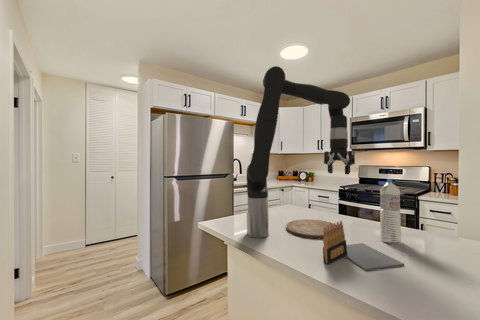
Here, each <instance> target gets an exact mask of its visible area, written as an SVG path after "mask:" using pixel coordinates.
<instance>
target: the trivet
mask: <svg viewBox="0 0 480 320" xmlns="http://www.w3.org/2000/svg"><path fill="white" fill-rule="evenodd" d="M334 223H335V222H334ZM334 223H333V222H330V221H327V220H320V219H319V220H318V219H297V220H292V221H291V220H290V221H289V222H287V223H285V226H286V227H285V229H286V231H287V232H288V234H289V233H290V234H291V235H294V236H297V237H300V238H301V237H302V238H304V239H312V240H314V239H315V240H323V239H324V227H326V229H327V226H328V225H329V227H330V226H331V224H332V225H333V226H334Z"/></svg>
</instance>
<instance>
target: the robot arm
mask: <svg viewBox="0 0 480 320" xmlns="http://www.w3.org/2000/svg"><path fill="white" fill-rule="evenodd" d="M262 85H263V88H264V89H263V90H264V91H263V97H262V100H261V103H260V107H259V110H258V112H257V117H256V121H255V126H254V134H253V135H254V136H253V150H252V151H253V153H252V157H251V160H250V163H249V165H248V166H247V168H246V192H247V213H246V231H247V232H246V233H247V235H248V236H249V237H250V238H256V239H257V238H258V239H260V238H266V237H268V236H269V235H270V234H269V231H270V230H269V192H268V183H267V178H268V176H269V170H270V167H269V166H270V157H271V150H272V147H273V143H274V138H275V135H276V134H275V133H276V131H277V130H276V129H277V123H278V119H279V118H278V117H279V109H280V99H281V95H286V96H291V97H295V98H296V97H297V98H299V99H302V100H306V101H308V102H311V103H313V104H317V105H327V107H328V108H327V109H328V114H329V119H330V131H329V132H330V133H329V149H330V151H324V155H323V164H324V165H327V172H328V174H333V170H334V168H333V167H334V166H333V165H334V163H335V162H337V161H341V162H342V163H343V164H344V174H345V175H350V173H351V166H353V165H355V163H356V162H355V160H356V159H355V151H354V150H348V145H349V143H348V141H349V139H348V138H349V135H348V134H349V133H348V132H349V131H348V118H347V116H346V115H344V109H346V108H347V107H349V105H350V104H351V99H350V96H349V95H348V94H347V93H345V92H342V91H338V90H333V89H331V90H330V89H326V88H324V87H321V86H318V85H314V84H310V83H300V82H293V81H290V80H288V79H286V73H285V71H284V69H283V68H282V67H280V66H277V65H275V66H274V65H273V66H272V67H270V68H269V69H268V70H266V72H265V74H264V77H263V80H262Z"/></svg>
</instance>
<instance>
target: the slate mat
mask: <svg viewBox="0 0 480 320" xmlns="http://www.w3.org/2000/svg"><path fill="white" fill-rule="evenodd" d="M346 246H347V255H346V256H344V257H343V258H345V259H346V260H348V261H349V262H351V263H352V264H354V265H356V266H357V267H359V268H360V269H362V270H363V271H365V272H369V271H377V270H383V269H390V268H397V267H404V266H405V263H403V262H401V261H399V260H397V259H396V258H394V257H391V256H390V255H387V254H385V253H384V252H382V251H379V250H377V249H375V248H373V247H371V246H369V245H367V244H365V243H364V242H361V243H360V242H359V243H351V244H346Z"/></svg>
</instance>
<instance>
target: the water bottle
mask: <svg viewBox="0 0 480 320" xmlns="http://www.w3.org/2000/svg"><path fill="white" fill-rule="evenodd" d="M379 193H380V194H379V195H380V198H379V199H380V200H379V201H380V203H379V204H380V205H379V206H380V210H379V211H380V214H379V215H380V216H379V217H380V219H379V220H380V240H381V241H382V242H383V243H385V244H390V245H399V244H400V243H401V240H402V239H401V238H402V231H401V230H402V229H401V227H402V226H401V225H402V224H401V223H402V222H401V196H400V195H401V190H400V188H399V187H398V186H396V184H394V183H393V179H386V183H385V184H384V185H382V186H381V187H380V188H379Z"/></svg>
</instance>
